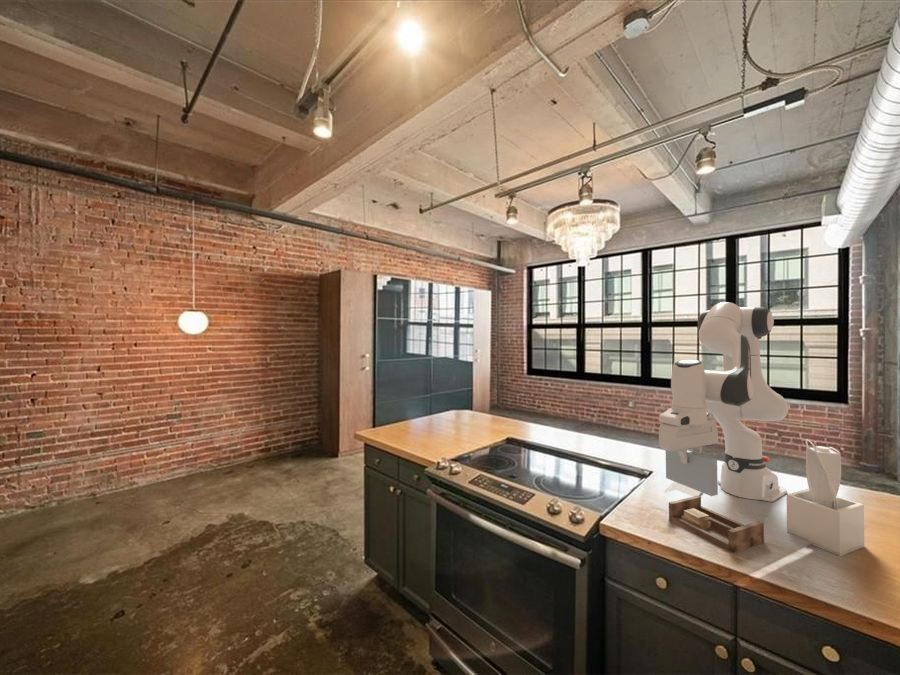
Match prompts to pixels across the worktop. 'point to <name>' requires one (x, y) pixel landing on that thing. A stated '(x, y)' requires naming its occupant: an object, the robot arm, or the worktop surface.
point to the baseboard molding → (683, 489)
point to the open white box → (826, 523)
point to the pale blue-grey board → (693, 471)
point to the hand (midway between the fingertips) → (689, 461)
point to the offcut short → (696, 516)
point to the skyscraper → (823, 474)
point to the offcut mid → (703, 526)
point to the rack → (718, 526)
